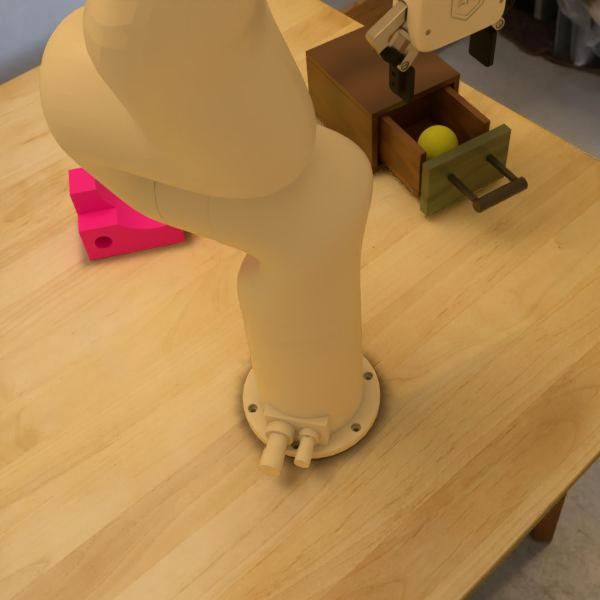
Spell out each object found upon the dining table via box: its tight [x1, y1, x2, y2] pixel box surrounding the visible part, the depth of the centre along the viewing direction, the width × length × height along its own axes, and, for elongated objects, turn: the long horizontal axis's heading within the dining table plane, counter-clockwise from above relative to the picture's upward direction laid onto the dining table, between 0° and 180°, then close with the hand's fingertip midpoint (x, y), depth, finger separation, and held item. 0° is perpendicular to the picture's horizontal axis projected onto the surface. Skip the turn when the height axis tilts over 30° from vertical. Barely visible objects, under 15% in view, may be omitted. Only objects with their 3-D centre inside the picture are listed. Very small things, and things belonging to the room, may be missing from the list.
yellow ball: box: [418, 125, 458, 161], centre depth 92 cm, size 4×4×4 cm
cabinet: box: [305, 19, 461, 174], centre depth 98 cm, size 14×12×9 cm
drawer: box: [377, 85, 529, 217], centre depth 91 cm, size 18×10×7 cm, turn 31°
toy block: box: [67, 166, 186, 261], centre depth 91 cm, size 15×6×8 cm, turn 102°
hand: (441, 77), depth 85 cm, fingers open, 9 cm apart
